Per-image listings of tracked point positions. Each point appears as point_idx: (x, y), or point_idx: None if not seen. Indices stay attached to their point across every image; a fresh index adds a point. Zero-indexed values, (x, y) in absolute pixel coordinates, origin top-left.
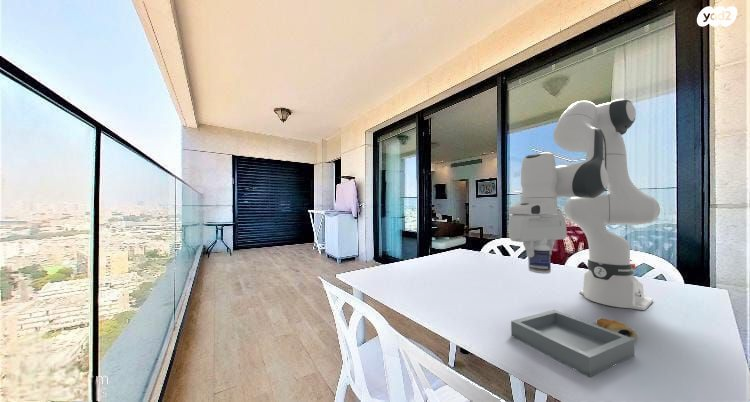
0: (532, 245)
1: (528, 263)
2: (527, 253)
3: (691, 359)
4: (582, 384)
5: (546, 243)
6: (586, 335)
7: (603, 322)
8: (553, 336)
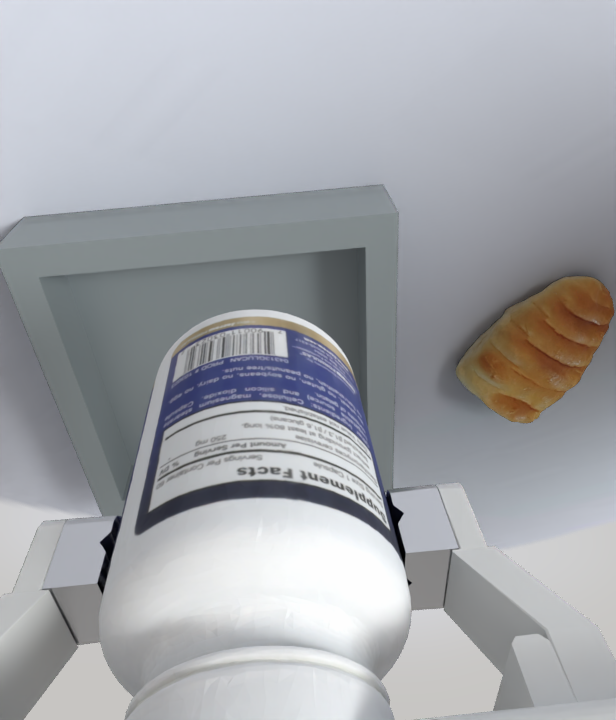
0: (125, 665)
1: (167, 382)
2: (35, 559)
3: (518, 490)
4: (66, 483)
5: (531, 631)
6: (357, 350)
7: (513, 349)
8: (204, 315)
